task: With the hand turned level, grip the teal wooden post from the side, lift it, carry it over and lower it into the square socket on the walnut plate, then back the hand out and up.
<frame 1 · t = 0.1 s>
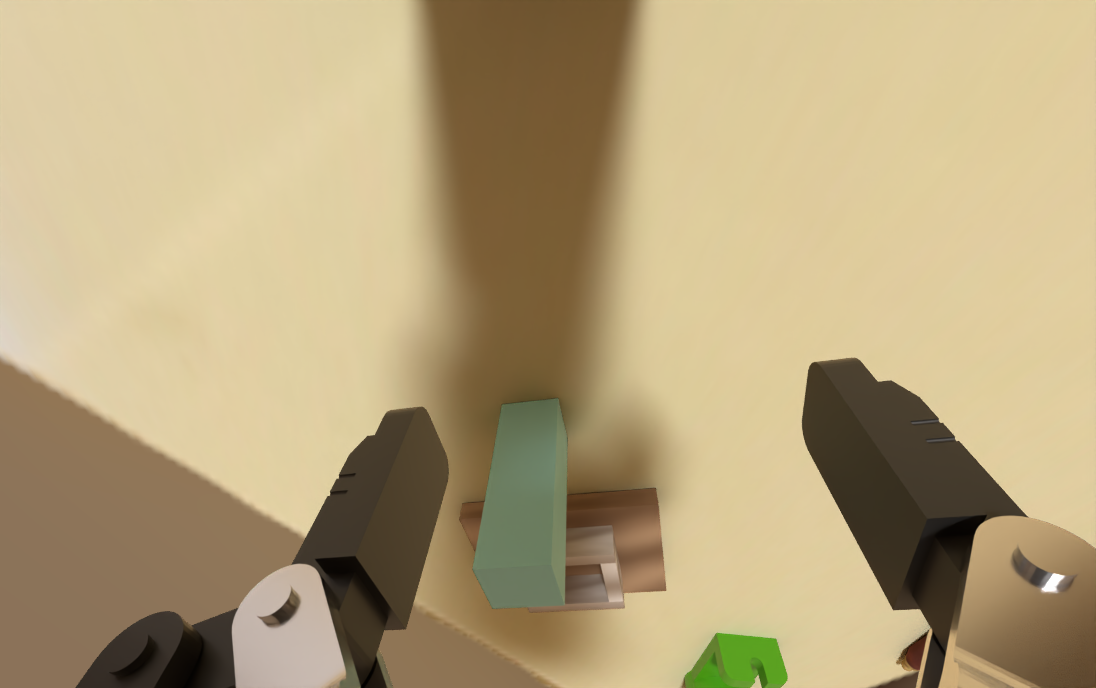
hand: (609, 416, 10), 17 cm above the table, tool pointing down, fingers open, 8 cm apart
walnut socket plate: (569, 541, 43), on the table
gavel: (954, 609, 48), on the table
green slotted bracket: (723, 660, 57), on the table
teal post: (535, 421, 35), on the table
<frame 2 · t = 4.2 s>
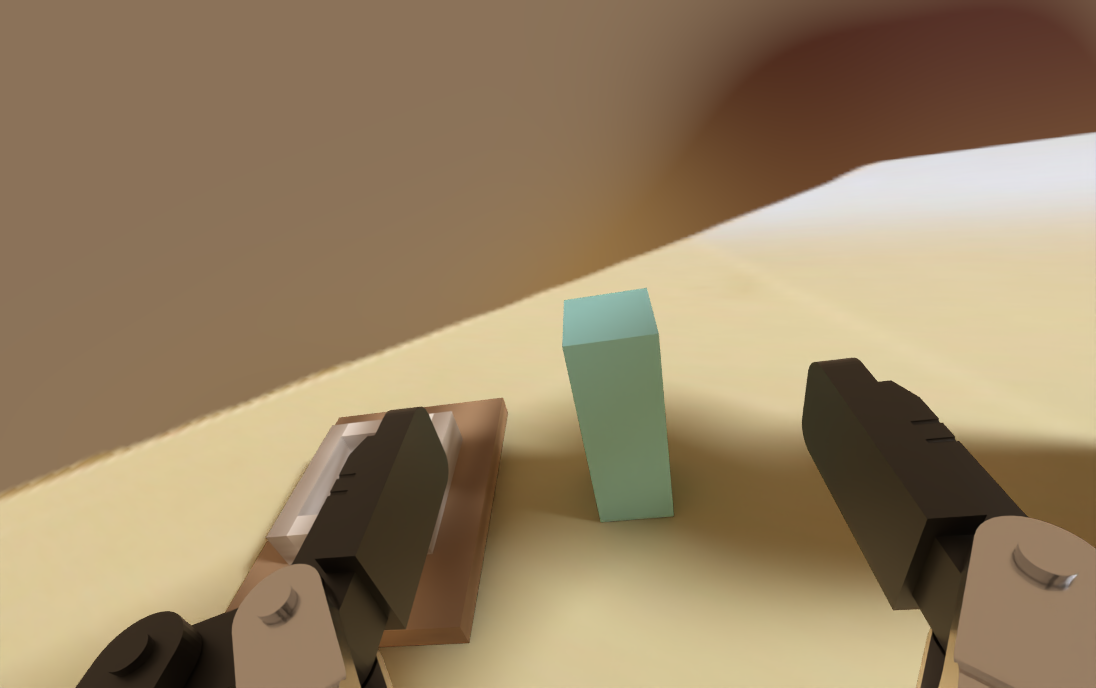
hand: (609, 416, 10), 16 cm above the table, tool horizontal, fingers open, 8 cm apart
walnut socket plate: (393, 511, 30), on the table
teal post: (633, 489, 28), on the table
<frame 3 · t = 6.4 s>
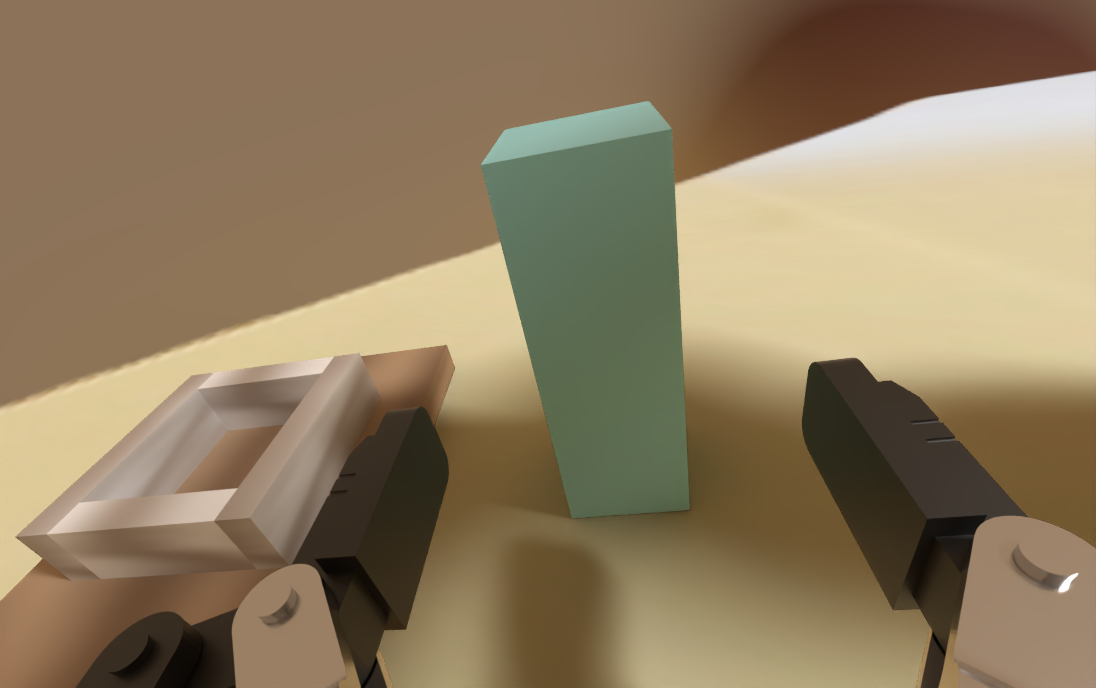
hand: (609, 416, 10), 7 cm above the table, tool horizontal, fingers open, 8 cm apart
walnut socket plate: (267, 499, 20), on the table
teal post: (625, 469, 18), on the table
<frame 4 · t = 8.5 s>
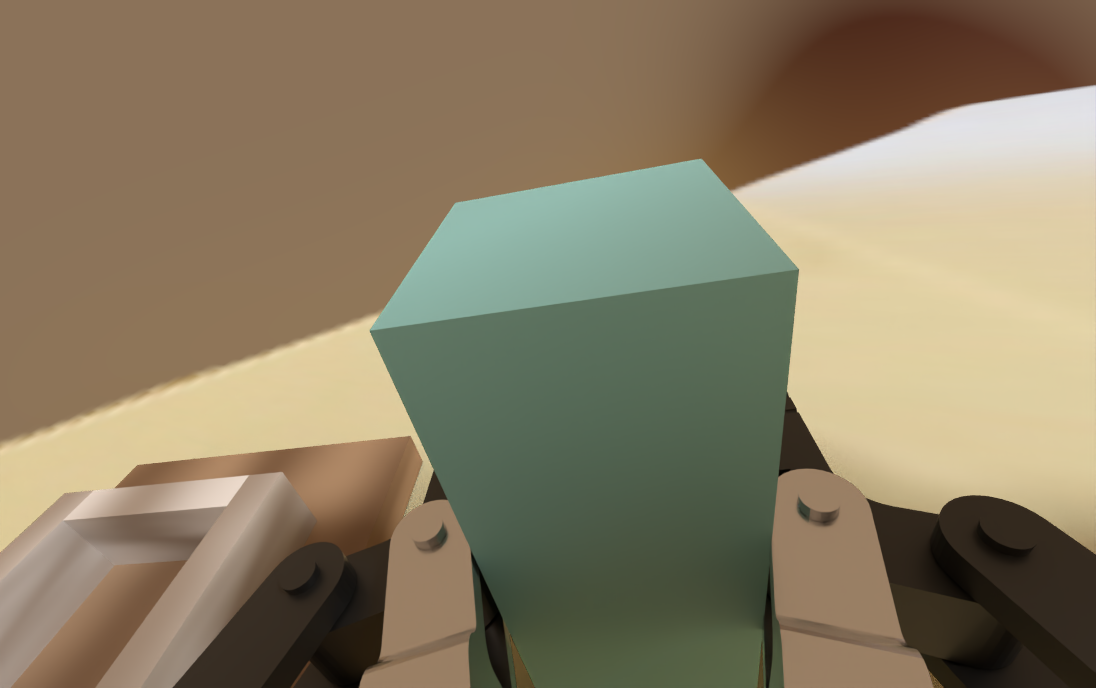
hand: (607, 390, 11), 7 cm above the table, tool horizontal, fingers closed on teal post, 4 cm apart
walnut socket plate: (152, 679, 15), on the table
teal post: (646, 665, 13), on the table, touching gripper
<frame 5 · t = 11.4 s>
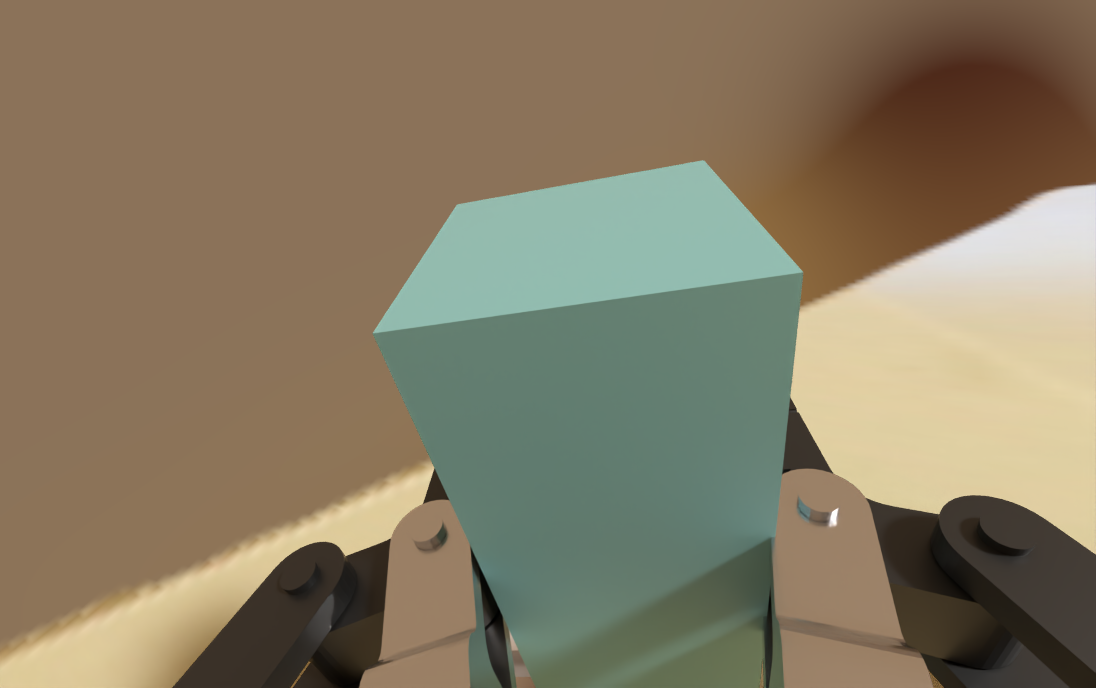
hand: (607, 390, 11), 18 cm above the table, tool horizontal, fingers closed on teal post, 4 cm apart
teal post: (648, 666, 13), point 11 cm above the table, touching gripper
when the fingers open (10 cm above the table, at t = 14.5 s): teal post drops 1 cm, resting on walnut socket plate.
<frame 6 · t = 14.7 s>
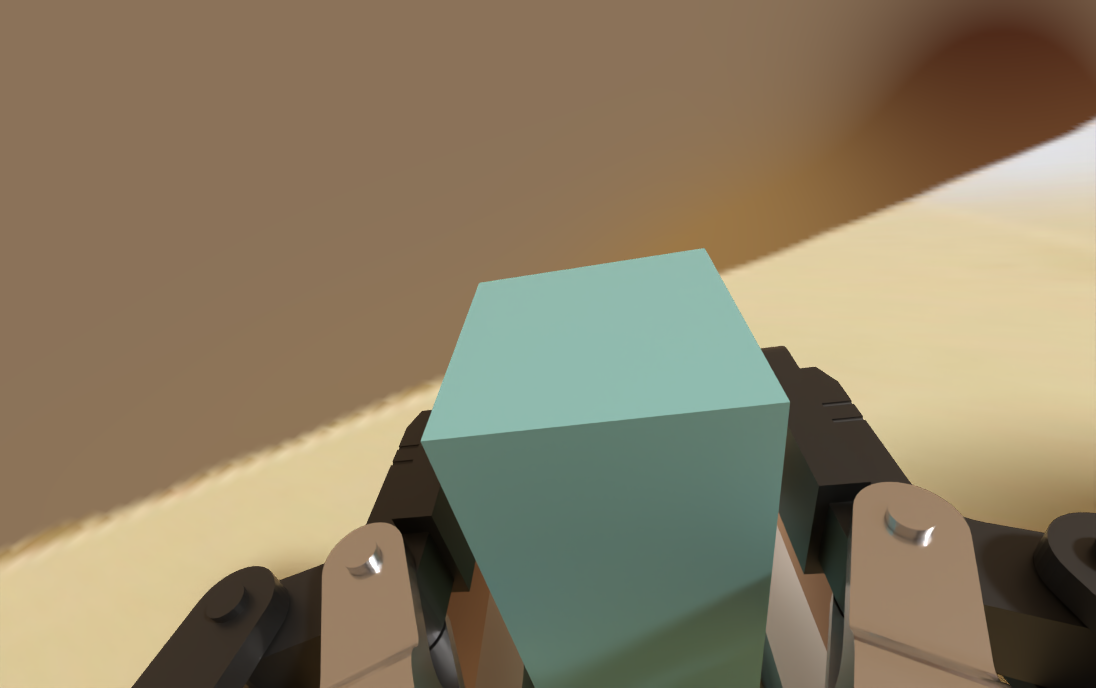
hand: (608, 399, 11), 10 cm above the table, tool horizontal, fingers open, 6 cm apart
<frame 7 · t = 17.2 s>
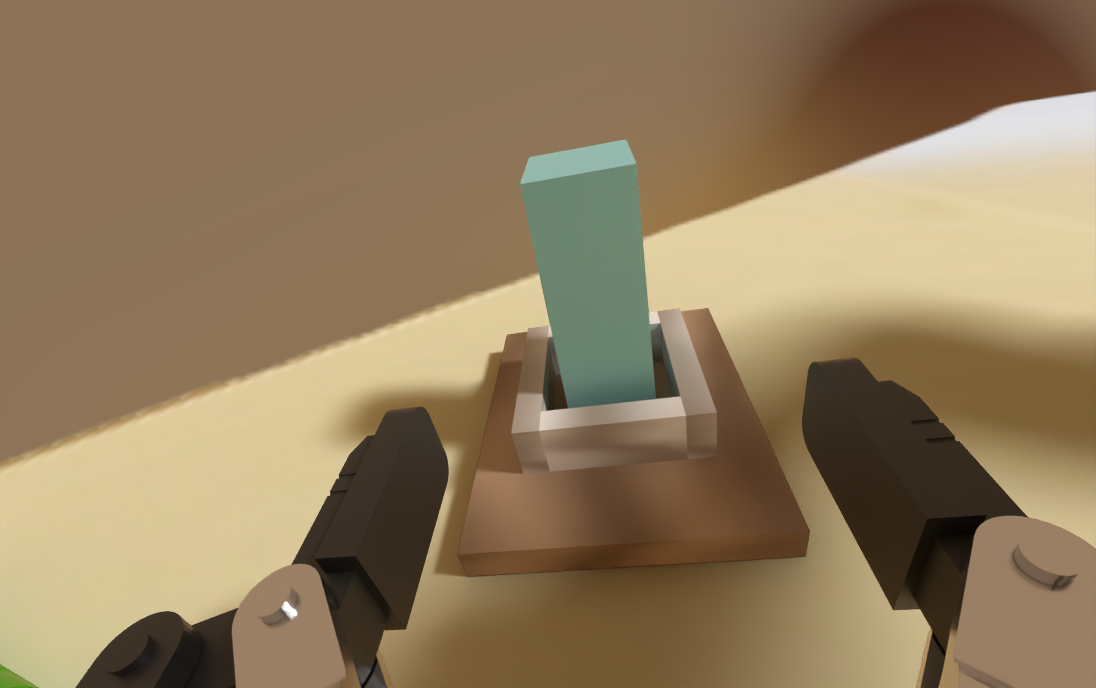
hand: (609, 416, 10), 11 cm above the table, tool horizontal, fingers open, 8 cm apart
walnut socket plate: (614, 424, 25), on the table
teal post: (612, 402, 25), point 1 cm above the table, touching walnut socket plate
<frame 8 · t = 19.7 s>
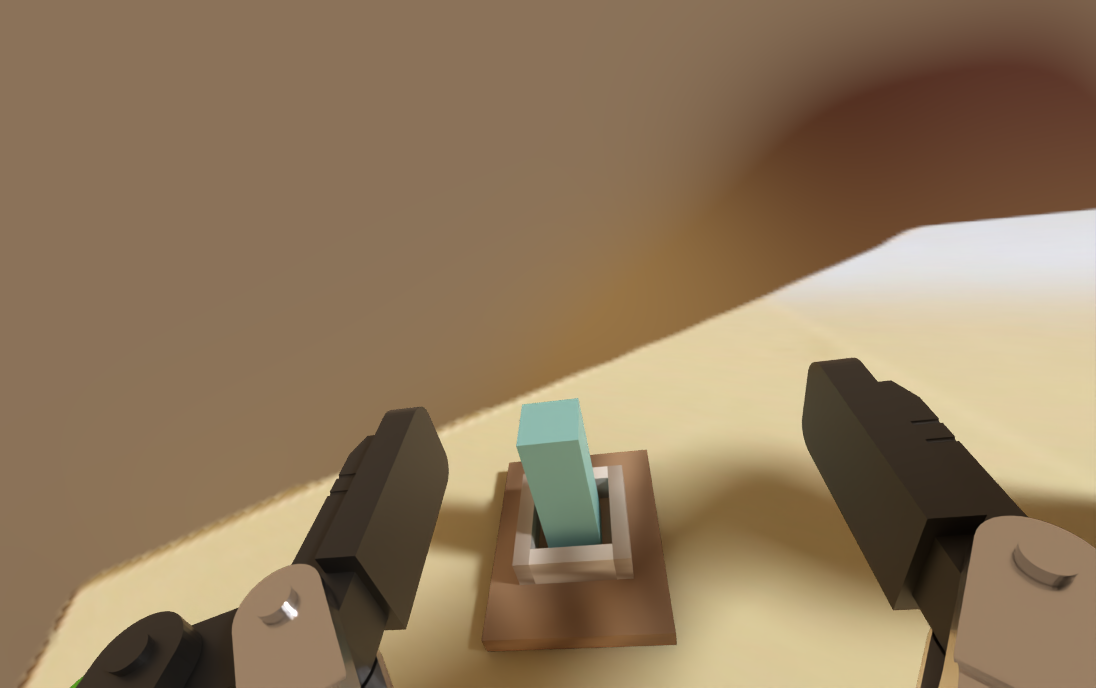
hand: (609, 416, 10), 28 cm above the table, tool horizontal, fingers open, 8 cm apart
walnut socket plate: (579, 542, 40), on the table
teal post: (576, 531, 39), point 1 cm above the table, touching walnut socket plate
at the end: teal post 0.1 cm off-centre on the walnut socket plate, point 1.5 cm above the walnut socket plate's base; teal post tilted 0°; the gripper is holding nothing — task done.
